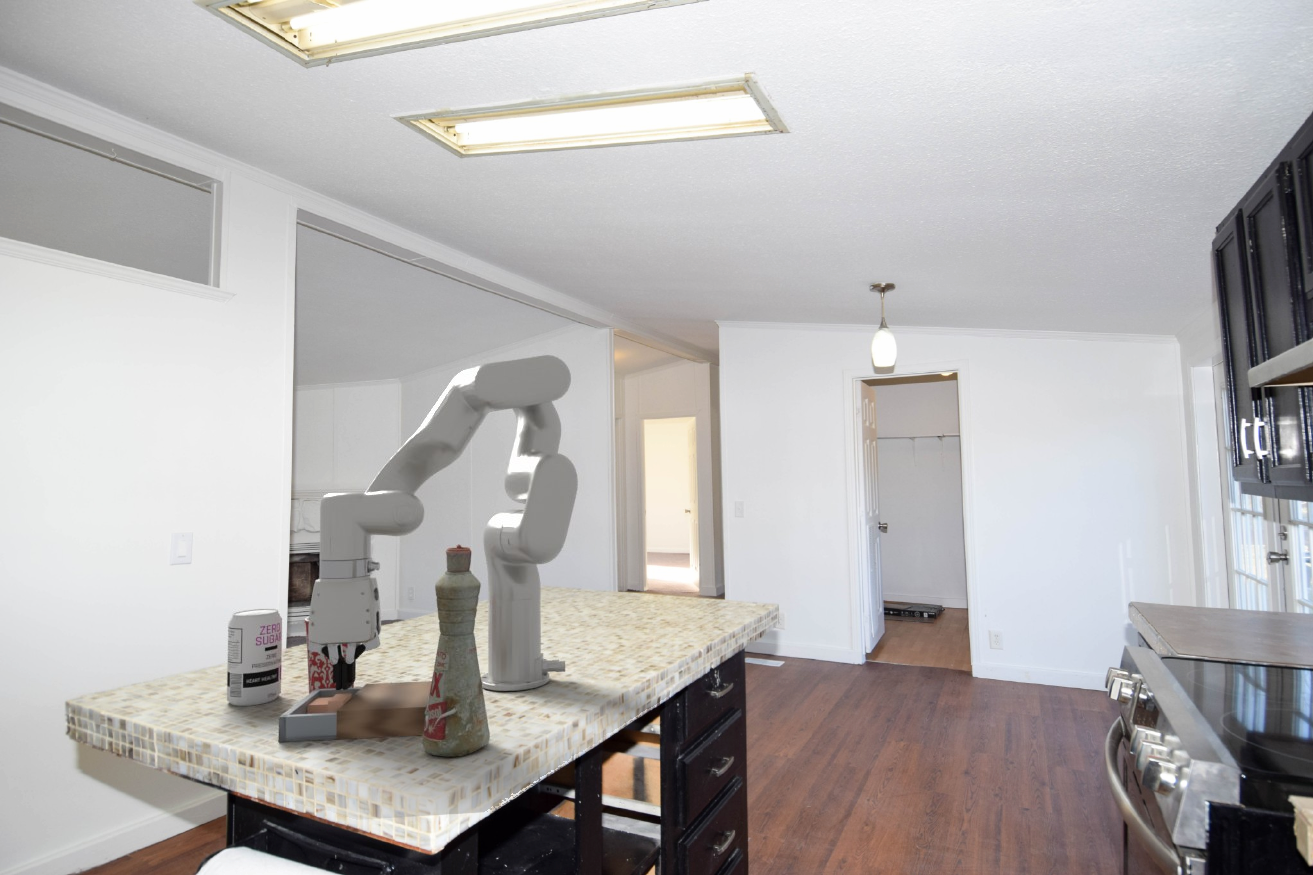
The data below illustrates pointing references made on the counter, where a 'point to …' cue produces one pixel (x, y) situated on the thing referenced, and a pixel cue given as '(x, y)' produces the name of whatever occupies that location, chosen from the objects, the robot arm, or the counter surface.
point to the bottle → (456, 666)
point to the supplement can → (254, 657)
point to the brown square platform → (384, 711)
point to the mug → (320, 667)
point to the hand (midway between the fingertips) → (344, 687)
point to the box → (310, 719)
